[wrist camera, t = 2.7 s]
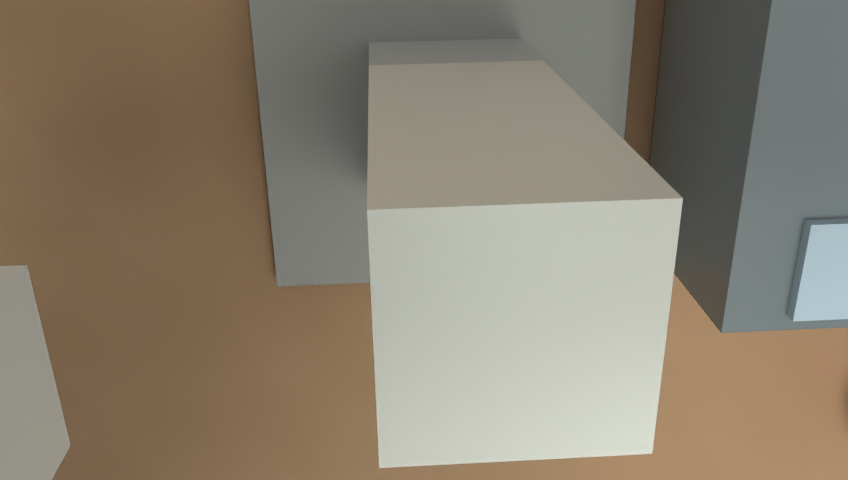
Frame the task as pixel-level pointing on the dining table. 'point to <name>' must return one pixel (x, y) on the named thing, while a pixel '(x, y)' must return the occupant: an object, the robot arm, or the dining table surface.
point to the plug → (509, 262)
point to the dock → (758, 158)
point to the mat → (348, 101)
